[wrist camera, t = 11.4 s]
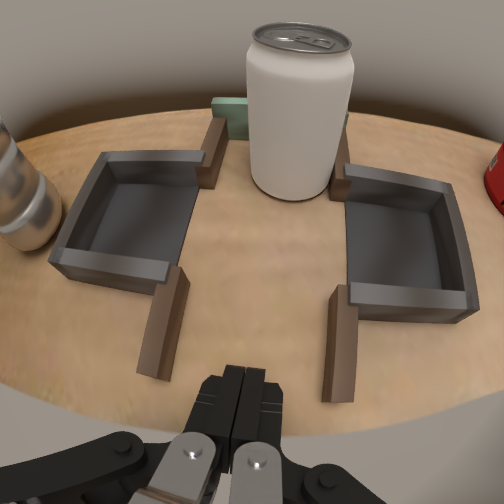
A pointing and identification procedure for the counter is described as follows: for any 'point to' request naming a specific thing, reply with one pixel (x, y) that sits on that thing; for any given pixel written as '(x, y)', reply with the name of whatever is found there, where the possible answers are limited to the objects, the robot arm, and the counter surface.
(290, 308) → the counter surface
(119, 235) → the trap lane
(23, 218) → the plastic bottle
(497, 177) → the canned food
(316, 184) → the can
